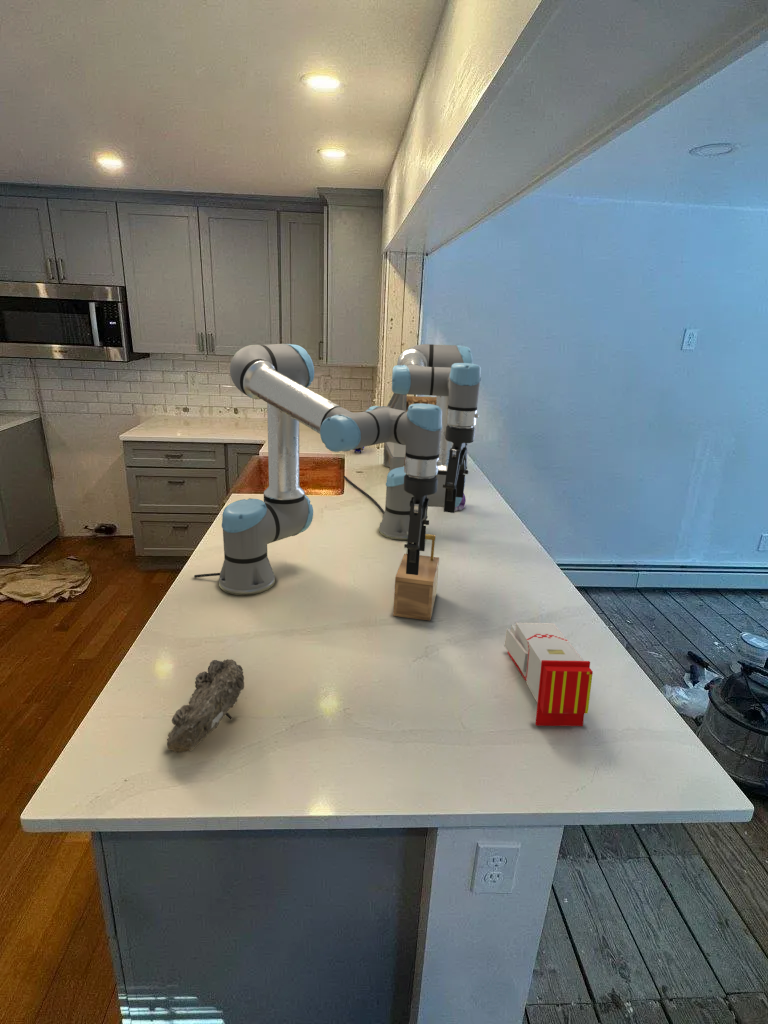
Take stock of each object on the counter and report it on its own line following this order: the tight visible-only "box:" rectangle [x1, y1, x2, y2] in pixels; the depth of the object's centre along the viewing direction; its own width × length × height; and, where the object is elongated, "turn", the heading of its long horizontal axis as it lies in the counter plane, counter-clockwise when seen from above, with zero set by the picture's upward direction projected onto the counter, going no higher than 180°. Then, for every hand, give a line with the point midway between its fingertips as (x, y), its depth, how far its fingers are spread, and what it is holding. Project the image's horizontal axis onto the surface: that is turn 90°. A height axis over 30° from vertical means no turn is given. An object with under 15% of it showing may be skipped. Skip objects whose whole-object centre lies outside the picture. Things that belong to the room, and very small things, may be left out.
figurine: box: [455, 492, 467, 512], centre depth 226 cm, size 9×10×15 cm
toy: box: [503, 622, 594, 727], centre depth 121 cm, size 12×13×30 cm
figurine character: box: [352, 447, 365, 454], centre depth 310 cm, size 7×8×15 cm
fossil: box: [166, 658, 245, 754], centre depth 106 cm, size 22×10×15 cm
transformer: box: [383, 393, 437, 472], centre depth 268 cm, size 34×33×41 cm
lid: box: [394, 533, 440, 586], centre depth 148 cm, size 15×10×9 cm, turn 169°
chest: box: [392, 562, 440, 622], centre depth 151 cm, size 14×10×10 cm
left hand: (415, 561), depth 134 cm, fingers open, 13 cm apart
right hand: (453, 504), depth 152 cm, fingers open, 13 cm apart
